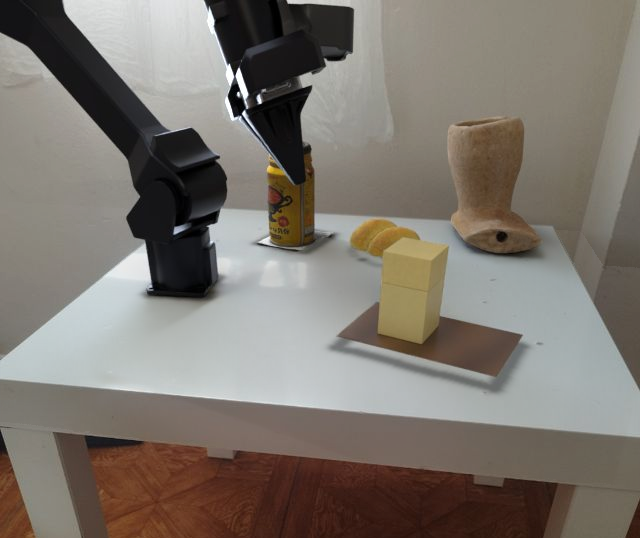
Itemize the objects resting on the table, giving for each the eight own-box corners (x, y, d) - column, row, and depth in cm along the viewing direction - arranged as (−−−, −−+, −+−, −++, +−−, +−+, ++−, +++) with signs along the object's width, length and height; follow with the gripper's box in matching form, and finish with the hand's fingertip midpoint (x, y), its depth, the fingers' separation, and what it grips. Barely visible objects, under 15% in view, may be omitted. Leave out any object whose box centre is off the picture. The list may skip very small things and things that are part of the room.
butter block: (377, 333, 57) (380, 282, 54) (395, 316, 60) (400, 266, 57) (421, 344, 55) (427, 292, 52) (438, 326, 58) (445, 275, 55)
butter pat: (380, 282, 54) (383, 251, 52) (400, 266, 57) (402, 236, 56) (427, 292, 52) (431, 260, 51) (445, 275, 55) (449, 245, 54)
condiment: (256, 243, 81) (251, 145, 74) (288, 226, 87) (286, 134, 80) (304, 253, 78) (304, 151, 71) (334, 234, 84) (336, 140, 77)
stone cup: (431, 221, 90) (444, 106, 81) (513, 222, 90) (535, 108, 81) (445, 256, 77) (462, 126, 69) (540, 258, 77) (569, 128, 69)
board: (335, 347, 57) (335, 335, 56) (375, 312, 64) (376, 301, 63) (494, 389, 51) (496, 376, 51) (520, 345, 58) (523, 334, 57)
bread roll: (389, 271, 73) (392, 238, 71) (339, 251, 79) (340, 219, 76) (435, 256, 78) (438, 224, 75) (384, 238, 83) (386, 208, 81)
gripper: (357, -93, 42) (416, 146, 48) (307, -10, 59) (356, 158, 65) (203, -39, 41) (284, 196, 47) (198, 29, 58) (258, 195, 64)
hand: (300, 183), depth 56 cm, fingers closed
